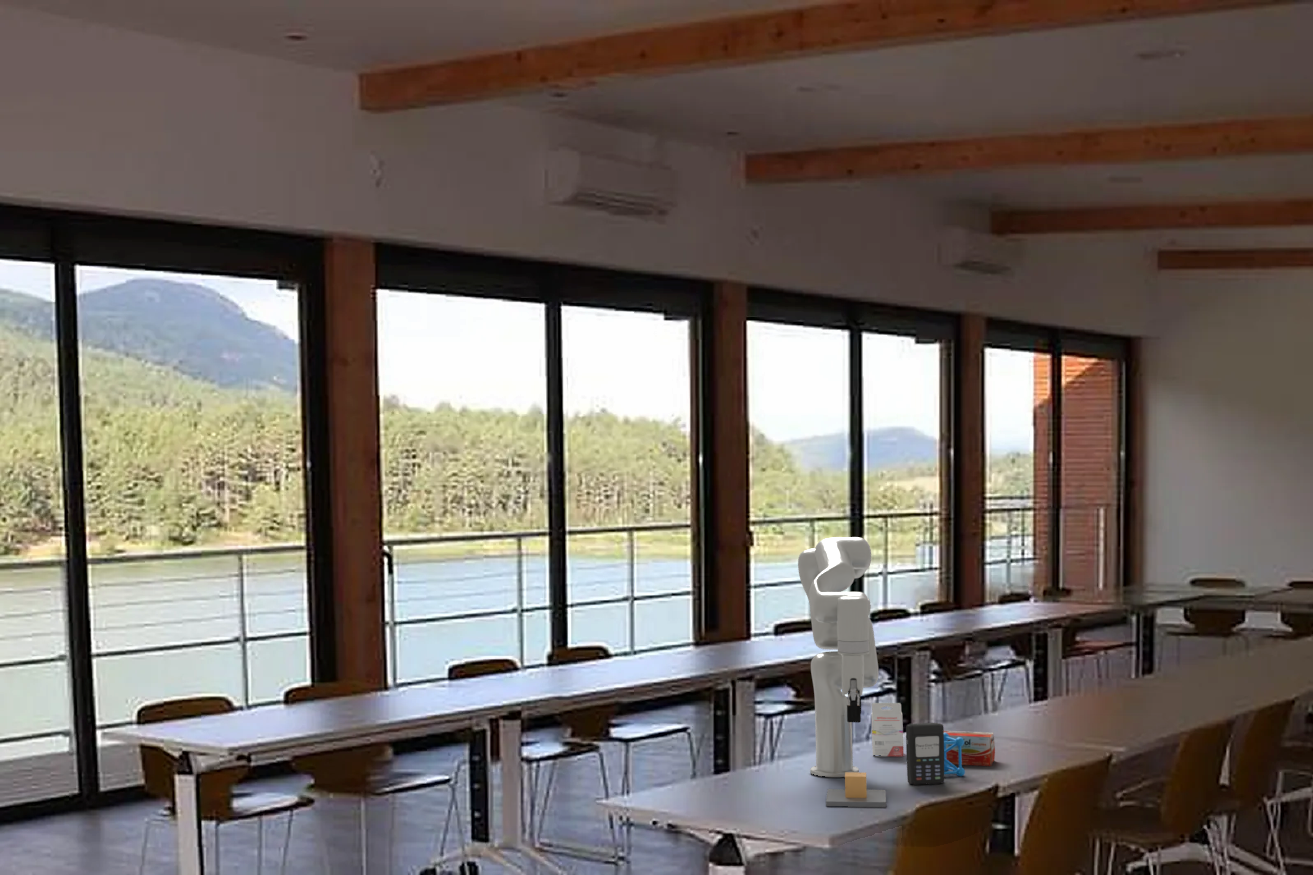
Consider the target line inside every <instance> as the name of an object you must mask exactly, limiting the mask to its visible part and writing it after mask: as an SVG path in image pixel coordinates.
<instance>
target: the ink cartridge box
mask: <svg viewBox="0 0 1313 875" xmlns="http://www.w3.org/2000/svg"><path fill="white" fill-rule="evenodd" d="M886 707H888V708H891V709H882V708H886ZM870 716H871V741H872V743H871V744H872V748H871V750H872V756H873V755H881V756H880V757H901V758H902V757H904V727H903V724H904V723H903V712H902V704H901V702H873V703H871V715H870Z"/></svg>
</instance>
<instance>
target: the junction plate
mask: <svg viewBox="0 0 1313 875" xmlns="http://www.w3.org/2000/svg"><path fill="white" fill-rule="evenodd" d="M886 790H887V789H867V798H845V788H844V789H837V788H834V789H832V788H828V789H827V792H826V800H825V807H826V806H848V807H847V808H887V792H886Z"/></svg>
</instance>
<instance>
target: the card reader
mask: <svg viewBox="0 0 1313 875" xmlns="http://www.w3.org/2000/svg"><path fill="white" fill-rule="evenodd" d="M944 731H945V728H944V725H943V723H940V722H920V723H919V722H917V723H909V724H906V726H905V743H906V745H905V746H906V747H905V750H906V751H905V754H906V776H907V777H906V778H907V779H906V780H907V782H908V784H909V785H913V786H921V785H922V786H923V785H937V784H938V785H939V784H940V785H941V784H942V783H944V782H945V775H944V772H945V771H944Z"/></svg>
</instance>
